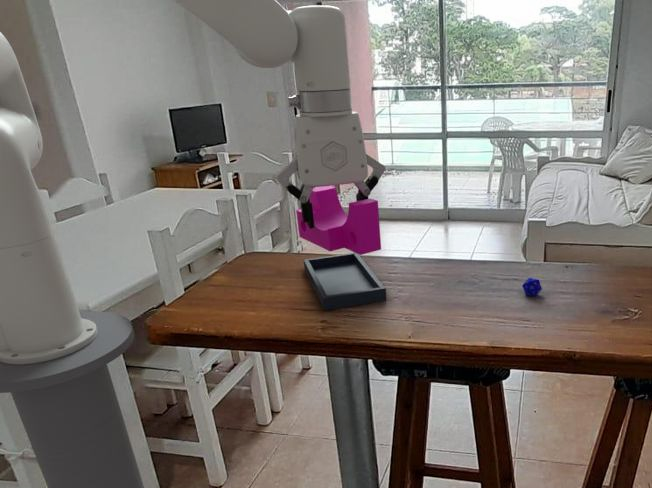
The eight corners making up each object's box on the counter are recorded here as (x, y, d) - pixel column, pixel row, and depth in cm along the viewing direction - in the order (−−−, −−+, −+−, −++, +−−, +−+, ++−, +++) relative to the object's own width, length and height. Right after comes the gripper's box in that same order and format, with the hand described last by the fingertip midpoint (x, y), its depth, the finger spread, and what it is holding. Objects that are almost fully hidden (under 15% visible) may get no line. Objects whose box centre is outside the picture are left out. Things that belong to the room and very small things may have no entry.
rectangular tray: (324, 310, 85) (322, 298, 84) (304, 270, 101) (303, 259, 100) (386, 300, 87) (385, 288, 86) (357, 262, 103) (357, 252, 102)
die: (523, 299, 86) (517, 280, 87) (530, 299, 89) (524, 281, 89) (539, 293, 85) (533, 274, 86) (546, 293, 87) (540, 275, 88)
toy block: (299, 236, 95) (293, 191, 92) (332, 229, 98) (327, 185, 95) (345, 258, 84) (340, 208, 81) (381, 249, 87) (377, 200, 84)
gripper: (266, 109, 76) (283, 236, 84) (390, 101, 81) (397, 222, 89) (261, 105, 83) (277, 223, 90) (376, 98, 88) (383, 211, 95)
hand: (336, 222), depth 90 cm, fingers closed on toy block, 7 cm apart
